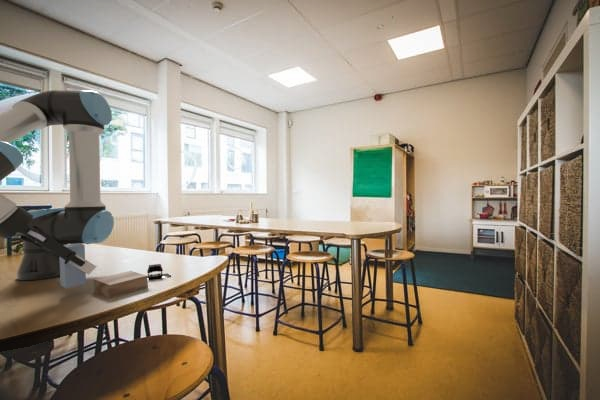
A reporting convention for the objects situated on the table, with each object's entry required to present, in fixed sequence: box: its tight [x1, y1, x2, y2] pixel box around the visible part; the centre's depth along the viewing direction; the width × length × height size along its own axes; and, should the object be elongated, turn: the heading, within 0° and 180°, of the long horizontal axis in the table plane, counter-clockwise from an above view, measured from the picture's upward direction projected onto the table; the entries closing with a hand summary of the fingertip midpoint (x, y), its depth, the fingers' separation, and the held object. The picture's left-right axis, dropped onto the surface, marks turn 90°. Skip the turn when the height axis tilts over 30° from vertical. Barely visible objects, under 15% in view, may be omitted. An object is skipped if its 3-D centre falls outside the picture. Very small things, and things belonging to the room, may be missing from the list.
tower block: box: [59, 243, 87, 289], centre depth 78 cm, size 4×4×11 cm
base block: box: [93, 270, 149, 299], centre depth 82 cm, size 10×10×4 cm
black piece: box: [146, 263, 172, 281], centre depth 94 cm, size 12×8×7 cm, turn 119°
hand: (88, 268), depth 81 cm, fingers closed on tower block, 4 cm apart
